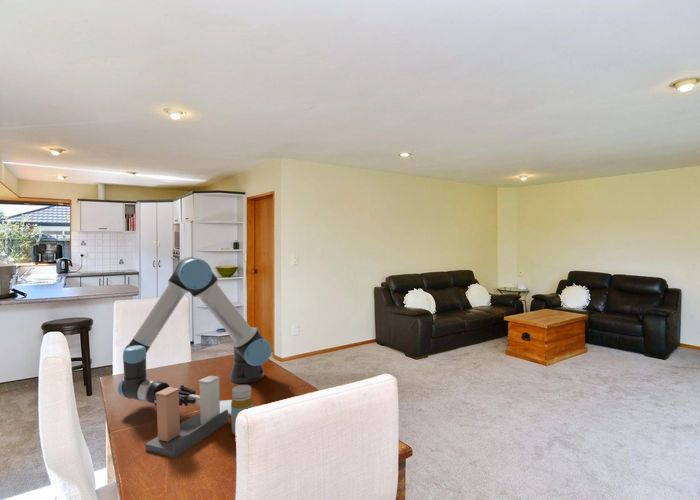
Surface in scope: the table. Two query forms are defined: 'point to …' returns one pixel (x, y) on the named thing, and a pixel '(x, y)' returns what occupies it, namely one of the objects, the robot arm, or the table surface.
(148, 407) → the table surface
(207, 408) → the grey tall block
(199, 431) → the stand
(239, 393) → the bottle
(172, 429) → the terracotta key
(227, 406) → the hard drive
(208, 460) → the table surface
